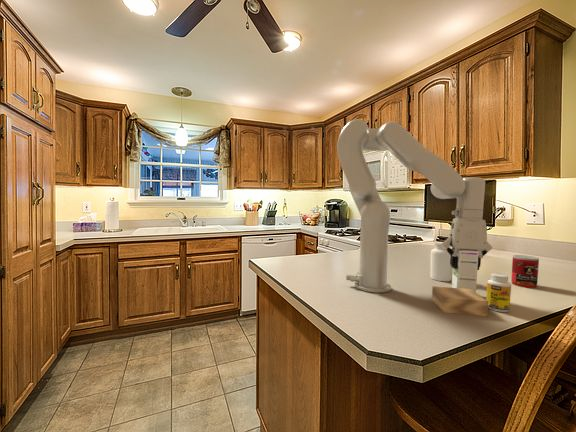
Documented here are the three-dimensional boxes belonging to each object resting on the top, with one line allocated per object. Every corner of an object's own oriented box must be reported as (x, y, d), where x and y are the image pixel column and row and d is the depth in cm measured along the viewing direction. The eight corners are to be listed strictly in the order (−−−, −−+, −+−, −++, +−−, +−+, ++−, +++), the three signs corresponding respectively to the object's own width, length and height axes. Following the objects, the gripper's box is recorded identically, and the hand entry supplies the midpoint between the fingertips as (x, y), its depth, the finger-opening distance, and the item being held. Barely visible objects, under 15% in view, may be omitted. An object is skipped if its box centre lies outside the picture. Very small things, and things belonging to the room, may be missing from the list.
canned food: (515, 286, 105) (517, 257, 105) (508, 281, 113) (509, 254, 112) (541, 289, 102) (543, 259, 102) (531, 283, 110) (533, 255, 109)
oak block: (443, 313, 79) (444, 297, 79) (431, 300, 90) (432, 286, 90) (487, 317, 77) (488, 301, 77) (469, 303, 88) (470, 289, 87)
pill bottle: (431, 275, 120) (433, 240, 119) (453, 278, 115) (454, 242, 114) (428, 279, 113) (429, 242, 112) (451, 283, 108) (452, 244, 108)
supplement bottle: (486, 310, 81) (488, 275, 81) (485, 304, 86) (486, 271, 85) (511, 314, 78) (513, 278, 78) (508, 308, 83) (510, 274, 82)
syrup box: (476, 295, 91) (480, 251, 90) (456, 293, 92) (460, 249, 91) (468, 290, 97) (472, 248, 96) (450, 288, 98) (453, 247, 97)
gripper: (446, 214, 90) (442, 269, 91) (504, 216, 88) (499, 273, 89) (436, 213, 98) (433, 264, 99) (490, 215, 96) (485, 267, 97)
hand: (464, 268), depth 94 cm, fingers closed on syrup box, 6 cm apart
